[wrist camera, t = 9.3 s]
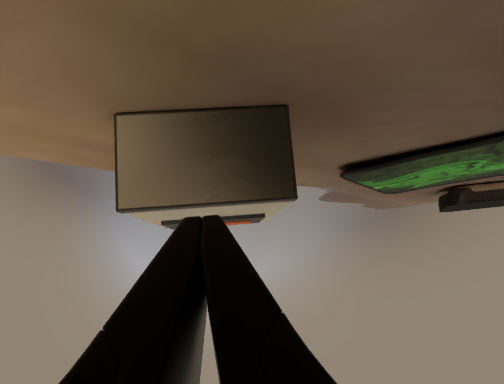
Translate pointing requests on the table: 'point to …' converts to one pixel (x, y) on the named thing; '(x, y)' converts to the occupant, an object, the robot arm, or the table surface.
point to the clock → (204, 164)
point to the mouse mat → (433, 168)
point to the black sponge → (472, 197)
